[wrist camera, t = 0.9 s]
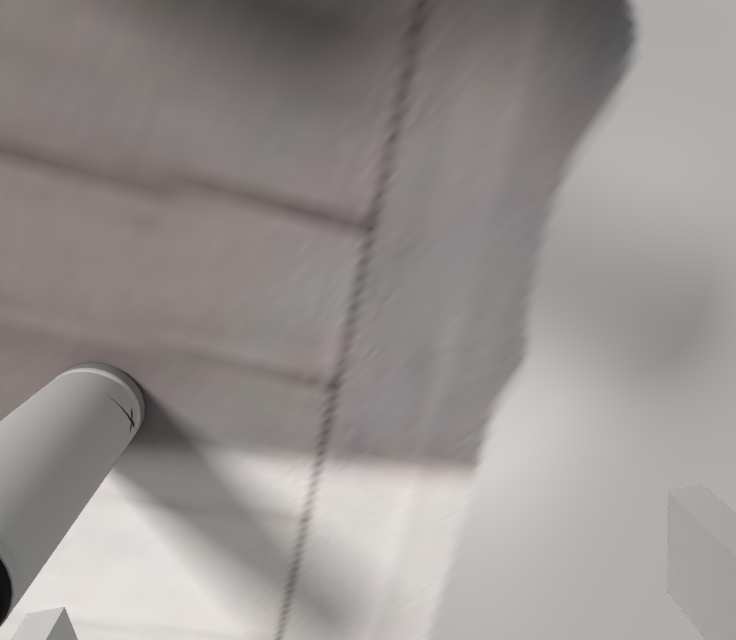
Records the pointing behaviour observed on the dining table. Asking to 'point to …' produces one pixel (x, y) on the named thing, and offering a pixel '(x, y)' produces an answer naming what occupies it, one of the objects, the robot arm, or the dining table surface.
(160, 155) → the dining table surface
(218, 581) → the dining table surface
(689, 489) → the robot arm
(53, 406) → the travel mug
